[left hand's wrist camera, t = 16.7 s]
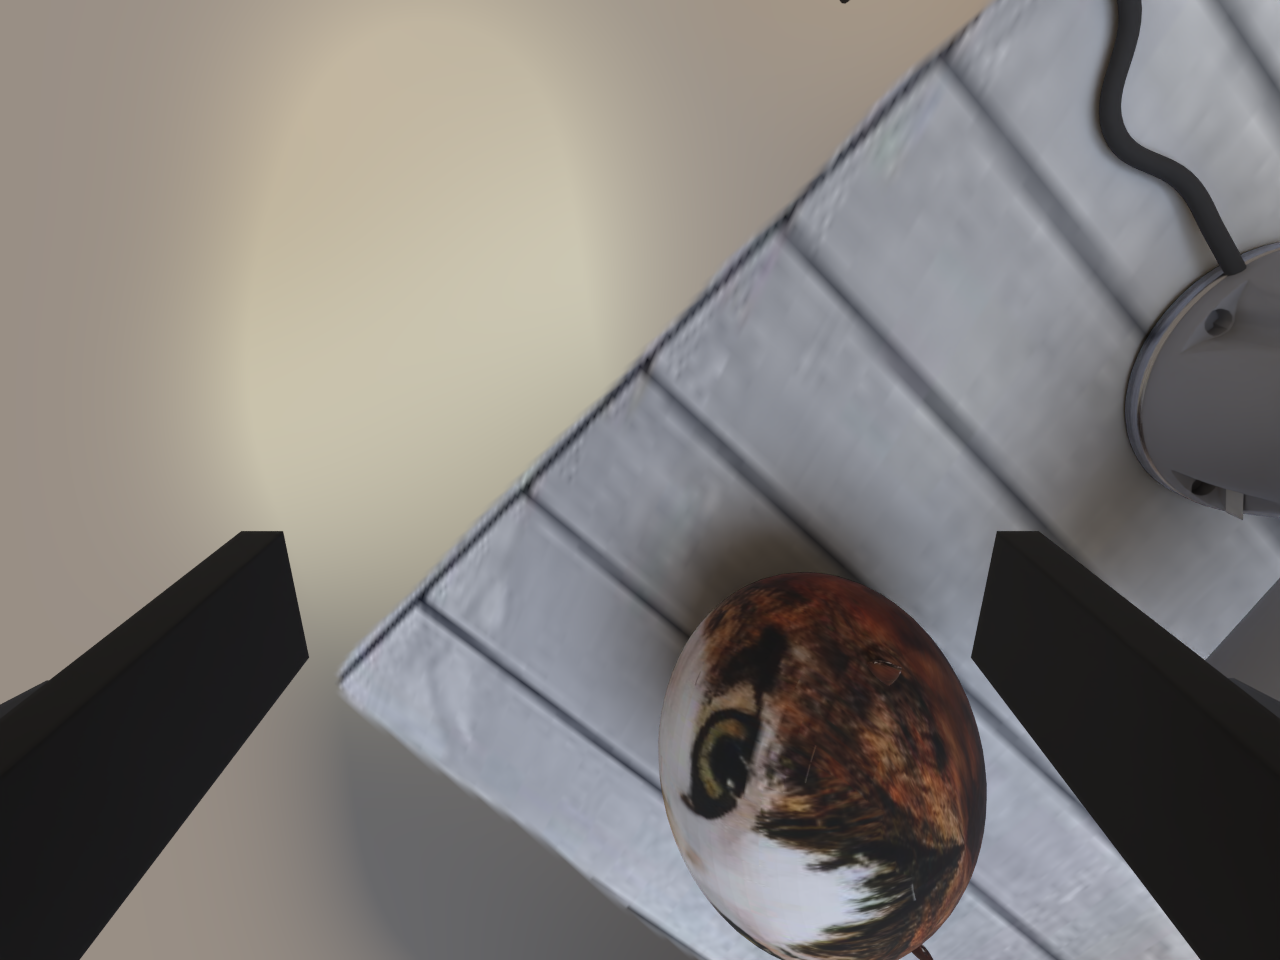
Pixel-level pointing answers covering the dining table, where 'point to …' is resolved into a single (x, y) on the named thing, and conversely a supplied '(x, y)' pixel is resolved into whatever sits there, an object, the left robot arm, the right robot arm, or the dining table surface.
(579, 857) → the dining table surface
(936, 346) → the dining table surface
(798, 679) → the cat face balloon
